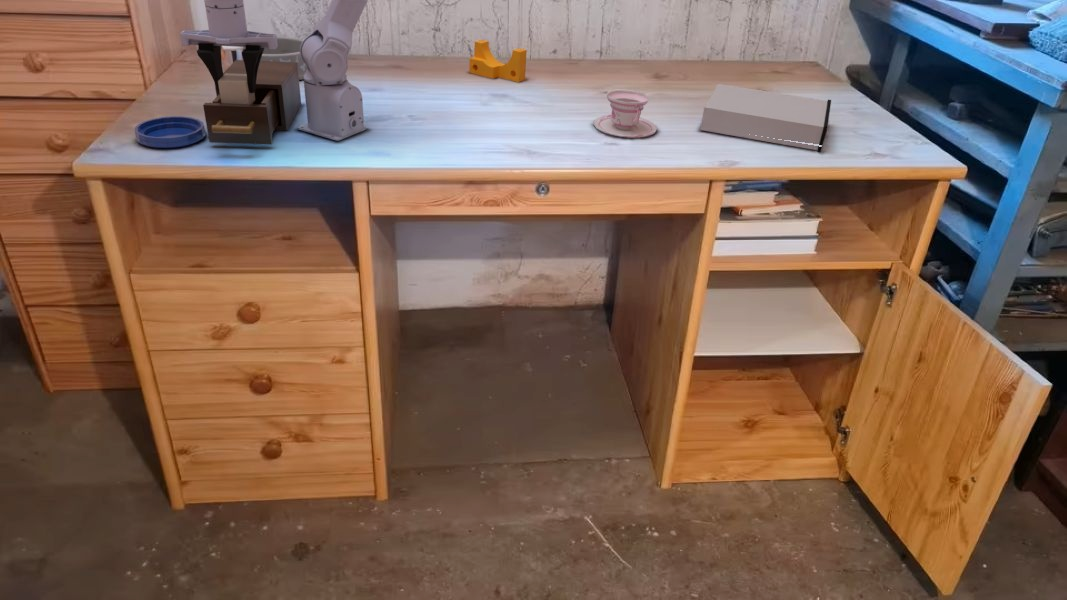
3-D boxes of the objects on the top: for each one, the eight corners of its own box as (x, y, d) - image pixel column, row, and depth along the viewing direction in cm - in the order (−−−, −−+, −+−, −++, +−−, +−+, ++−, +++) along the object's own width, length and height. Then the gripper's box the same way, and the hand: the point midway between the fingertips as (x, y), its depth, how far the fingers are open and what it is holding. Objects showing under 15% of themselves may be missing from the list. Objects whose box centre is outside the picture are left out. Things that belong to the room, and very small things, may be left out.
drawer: (266, 152, 126) (261, 114, 122) (202, 151, 125) (195, 112, 121) (287, 118, 140) (283, 83, 136) (230, 116, 139) (224, 81, 136)
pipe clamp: (469, 72, 174) (469, 43, 171) (480, 68, 177) (481, 39, 174) (514, 83, 169) (515, 53, 165) (525, 79, 172) (526, 49, 169)
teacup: (582, 120, 151) (585, 88, 148) (636, 115, 155) (640, 84, 152) (612, 141, 142) (616, 108, 139) (668, 135, 146) (673, 103, 143)
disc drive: (821, 152, 143) (828, 126, 141) (699, 131, 149) (704, 105, 147) (825, 124, 158) (832, 100, 155) (714, 106, 164) (718, 82, 161)
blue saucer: (219, 136, 133) (217, 125, 132) (166, 154, 125) (164, 142, 124) (176, 123, 137) (174, 112, 136) (122, 140, 129) (120, 128, 128)
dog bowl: (280, 54, 177) (278, 30, 175) (336, 71, 169) (334, 46, 166) (215, 68, 165) (211, 43, 162) (271, 88, 157) (268, 60, 154)
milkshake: (216, 89, 154) (208, 37, 149) (237, 82, 158) (229, 32, 153) (233, 93, 152) (226, 41, 147) (253, 87, 157) (247, 35, 151)
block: (228, 99, 132) (224, 73, 130) (255, 100, 133) (252, 74, 130) (221, 107, 128) (217, 81, 126) (249, 108, 129) (245, 82, 126)
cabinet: (286, 130, 137) (281, 84, 133) (221, 128, 136) (214, 82, 132) (301, 105, 149) (297, 62, 145) (241, 102, 148) (235, 59, 144)
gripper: (168, 8, 118) (184, 96, 125) (266, 12, 119) (276, 99, 127) (182, -2, 124) (197, 83, 131) (276, 3, 125) (285, 86, 133)
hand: (236, 90), depth 129 cm, fingers closed on block, 4 cm apart
